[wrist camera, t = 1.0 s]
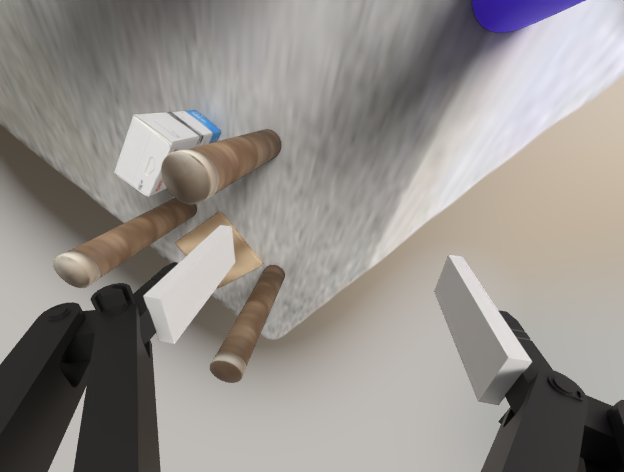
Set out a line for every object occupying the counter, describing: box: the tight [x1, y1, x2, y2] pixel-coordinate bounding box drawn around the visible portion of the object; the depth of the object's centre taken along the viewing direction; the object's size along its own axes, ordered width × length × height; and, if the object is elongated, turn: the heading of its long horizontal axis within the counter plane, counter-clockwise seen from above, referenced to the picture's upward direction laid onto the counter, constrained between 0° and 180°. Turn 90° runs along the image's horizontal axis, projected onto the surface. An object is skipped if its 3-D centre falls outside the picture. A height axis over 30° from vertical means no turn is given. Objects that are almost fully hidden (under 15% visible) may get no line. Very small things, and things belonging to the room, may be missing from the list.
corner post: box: [210, 265, 285, 383], centre depth 39 cm, size 4×4×20 cm
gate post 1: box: [53, 198, 197, 288], centre depth 35 cm, size 4×4×20 cm
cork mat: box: [175, 211, 263, 289], centre depth 47 cm, size 12×12×1 cm
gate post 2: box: [161, 129, 281, 204], centre depth 28 cm, size 4×4×20 cm
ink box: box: [114, 110, 221, 197], centre depth 33 cm, size 9×5×12 cm, turn 141°
